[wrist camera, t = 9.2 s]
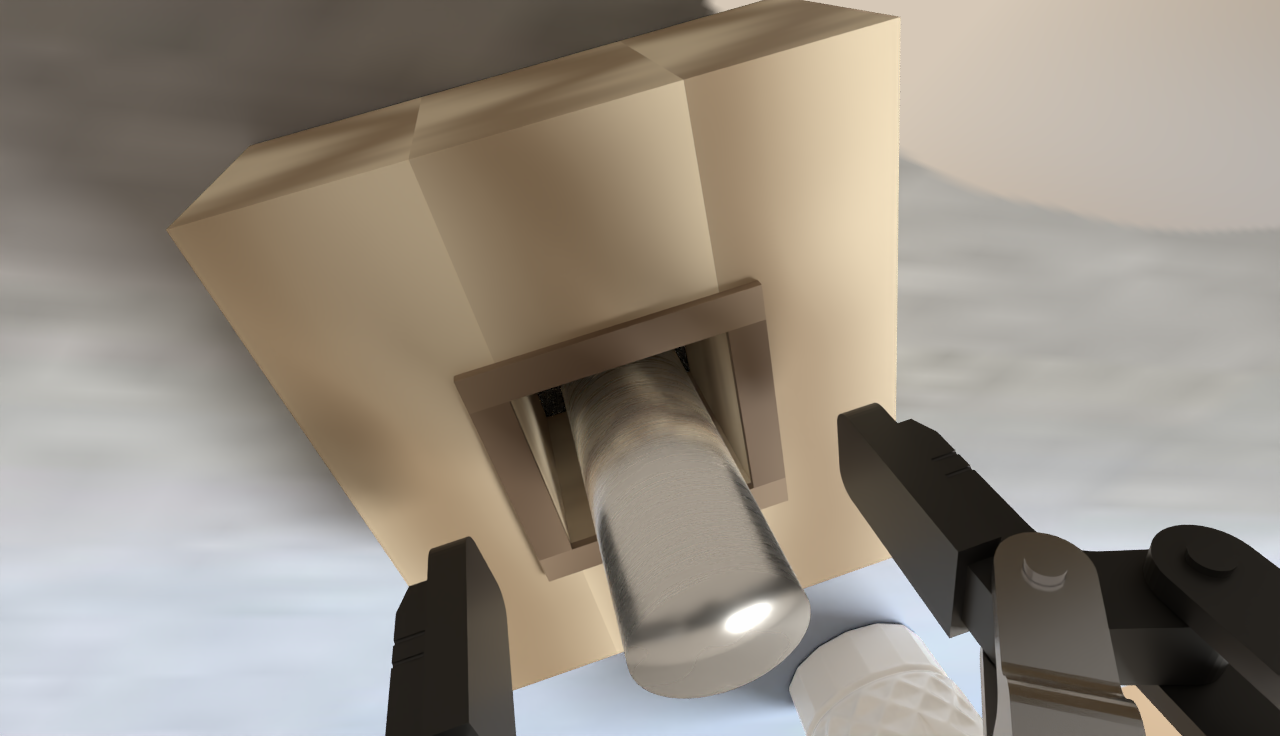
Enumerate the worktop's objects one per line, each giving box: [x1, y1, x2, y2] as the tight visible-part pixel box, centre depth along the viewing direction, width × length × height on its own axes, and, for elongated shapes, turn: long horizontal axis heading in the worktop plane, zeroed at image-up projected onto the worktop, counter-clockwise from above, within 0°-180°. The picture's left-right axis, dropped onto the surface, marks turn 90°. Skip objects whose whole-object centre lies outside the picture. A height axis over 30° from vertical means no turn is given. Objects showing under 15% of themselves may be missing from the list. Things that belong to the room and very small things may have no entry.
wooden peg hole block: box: [166, 0, 901, 690], centre depth 16 cm, size 12×14×5 cm
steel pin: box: [561, 349, 811, 698], centre depth 14 cm, size 3×3×10 cm
